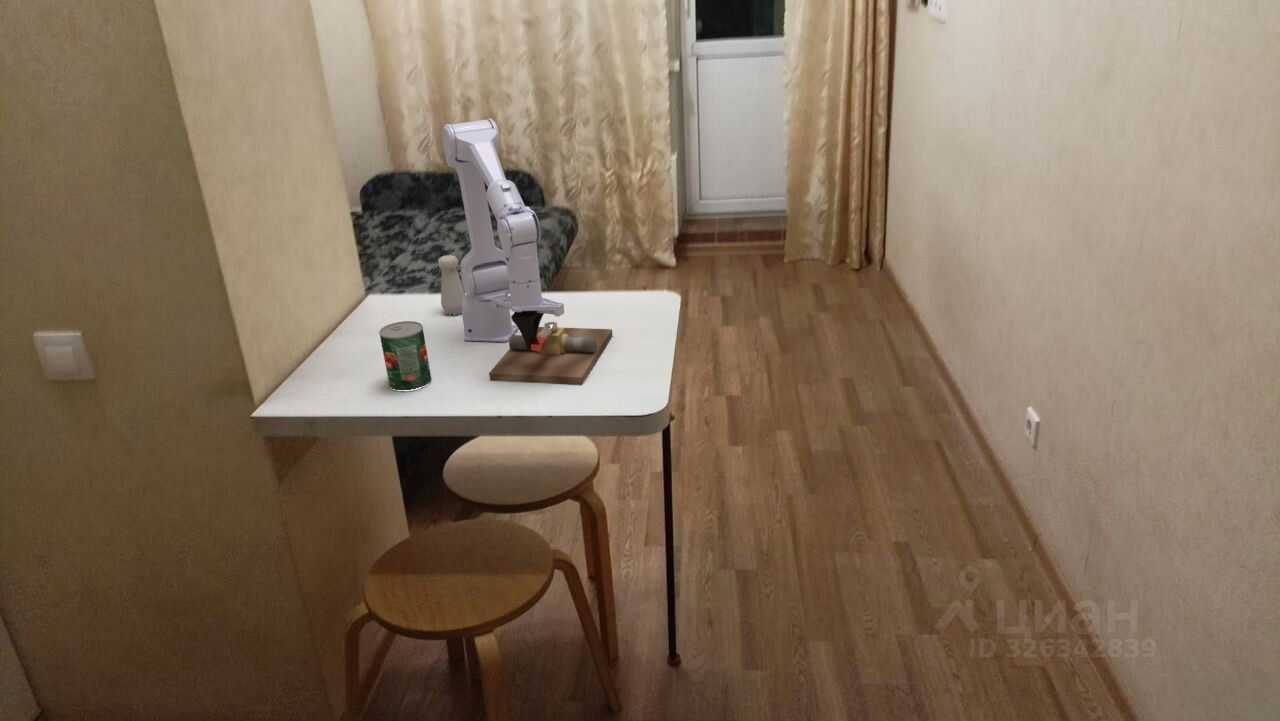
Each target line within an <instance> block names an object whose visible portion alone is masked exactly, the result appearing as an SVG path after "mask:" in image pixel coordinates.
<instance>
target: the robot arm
mask: <svg viewBox="0 0 1280 721" xmlns="http://www.w3.org/2000/svg"><path fill="white" fill-rule="evenodd" d="M441 140H442V145H443V152H444V157H445V161H446V164H447V166H448V167H449V168H453V169H456V173H457V176H458V180H459V185H460V191H461V192H460V193H461V197H462V202H463V203H462V204H463V207H464V213H465V220H466V223H467V229H468V236H469V241H470V246H471V248H470V250H469V251H468V252H467V253H466V255H465V256H463V258H462V259H461V261H460V271H461V274H460V276H461V278H460V281H461V284H462V287H463V289H464V292H465V296H464V298H463V301H462V314H461V315H462V322H463V323H462V324H463V330H464V337H463V340H464V341H468V342H469V341H470V342H471V341H473V342H492V343H493V342H497V343H498V342H500V343H501V342H502V343H507V342H509V338H510V336H511V335H515V333H516V331H518V330H519V332H520V334H521V335H522V336H523V338H524V341H525V343H526V347H527V349H531V344H532V342H533V341H534V340H535V338H536V336H537V331H538V327H540V324H541V321H542V318H543V316H544V314H548V315H554V317H558V318H559V317H561V316H562V315H564V314H565V306H564V303H563V302H558V301H555V300H552V299H548V298H545V297H543V296H542V295H543V294H542V286H541V285H542V284H541V277H540V266H539V258H538V257H539V256H538V248H537V247H538V246H537V243H539V242H540V240H541V233H542V232H541V227H540V222H539V221H540V220H539V219H538V216H537V214H536V213H535V211H534V210H532V209H531V207H529V206H526V204H525V203H524V201H523V198H522V196H521V194H520V192H519V190H518V187H517V186H516V184H515V183H514V182H513V181H511V180H509V179H507V178H506V176H505V172H504V170H503V167H502V165H501V161H500V159H499V156H498V155H499V153H500V152H499V150H500V144H501V137H500V132H499V127H498V125H497V123H496V122H495V121H494V119H492V118H491V117H490V118H486V119H482V120H475V121H474V120H473V121H467V122H460V123H451V124H450V123H446V124H445V125H444V127H443V128H442V132H441ZM485 184H486V186H487V189H486V186H485ZM489 207H490V208H491V212H492V213H493V216H494V217H495V220H496V222H497V224H496V226H497V228H496V229H497V235H498V238H499V242H500V245H501V249H500V248H498V247H496V243H495V237H494V231H493V227H492V226H493V225H492V220H491V214H490V210H489ZM511 312H513V314H511ZM512 322H513V323H514V324H515V325H513V324H512Z"/></svg>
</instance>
